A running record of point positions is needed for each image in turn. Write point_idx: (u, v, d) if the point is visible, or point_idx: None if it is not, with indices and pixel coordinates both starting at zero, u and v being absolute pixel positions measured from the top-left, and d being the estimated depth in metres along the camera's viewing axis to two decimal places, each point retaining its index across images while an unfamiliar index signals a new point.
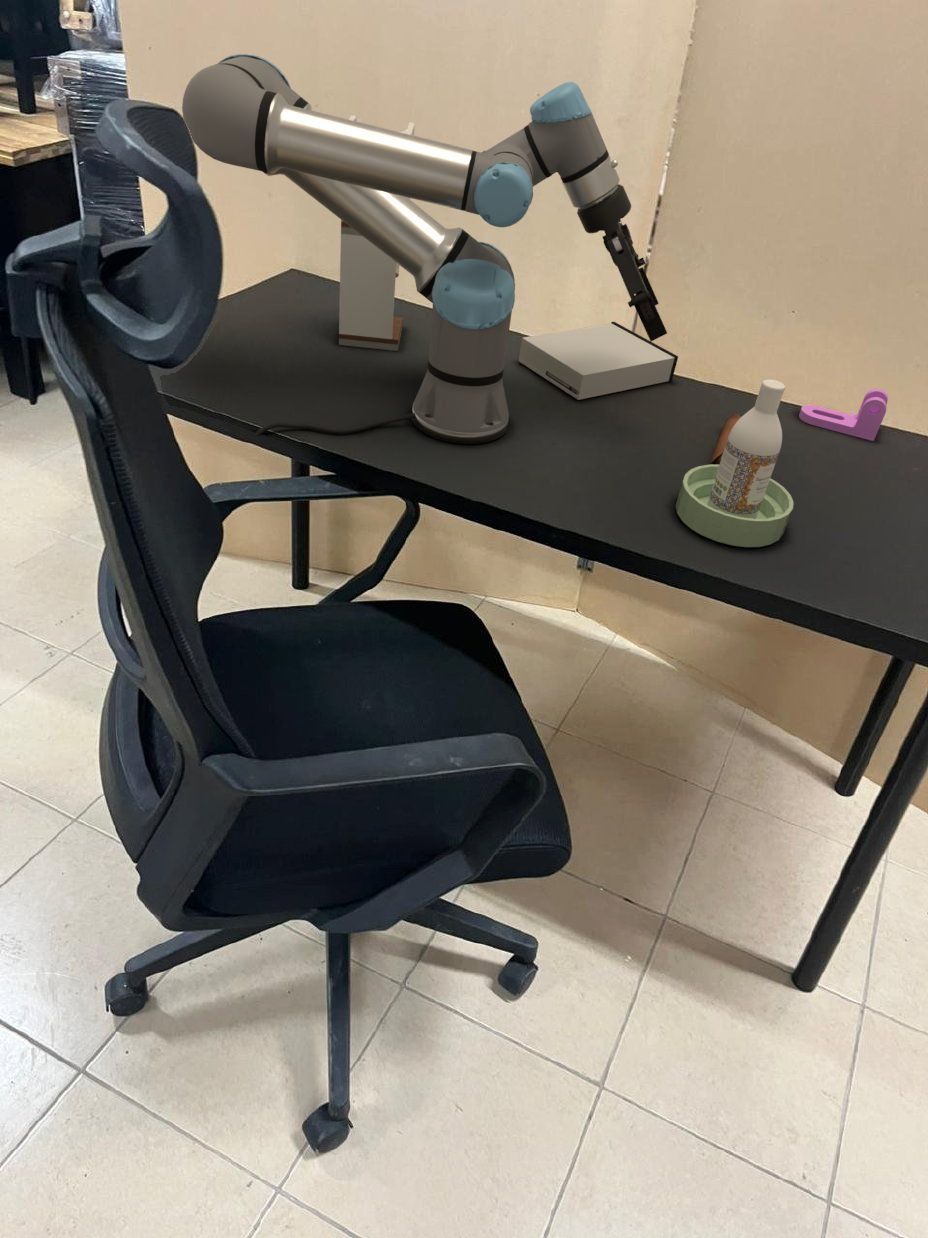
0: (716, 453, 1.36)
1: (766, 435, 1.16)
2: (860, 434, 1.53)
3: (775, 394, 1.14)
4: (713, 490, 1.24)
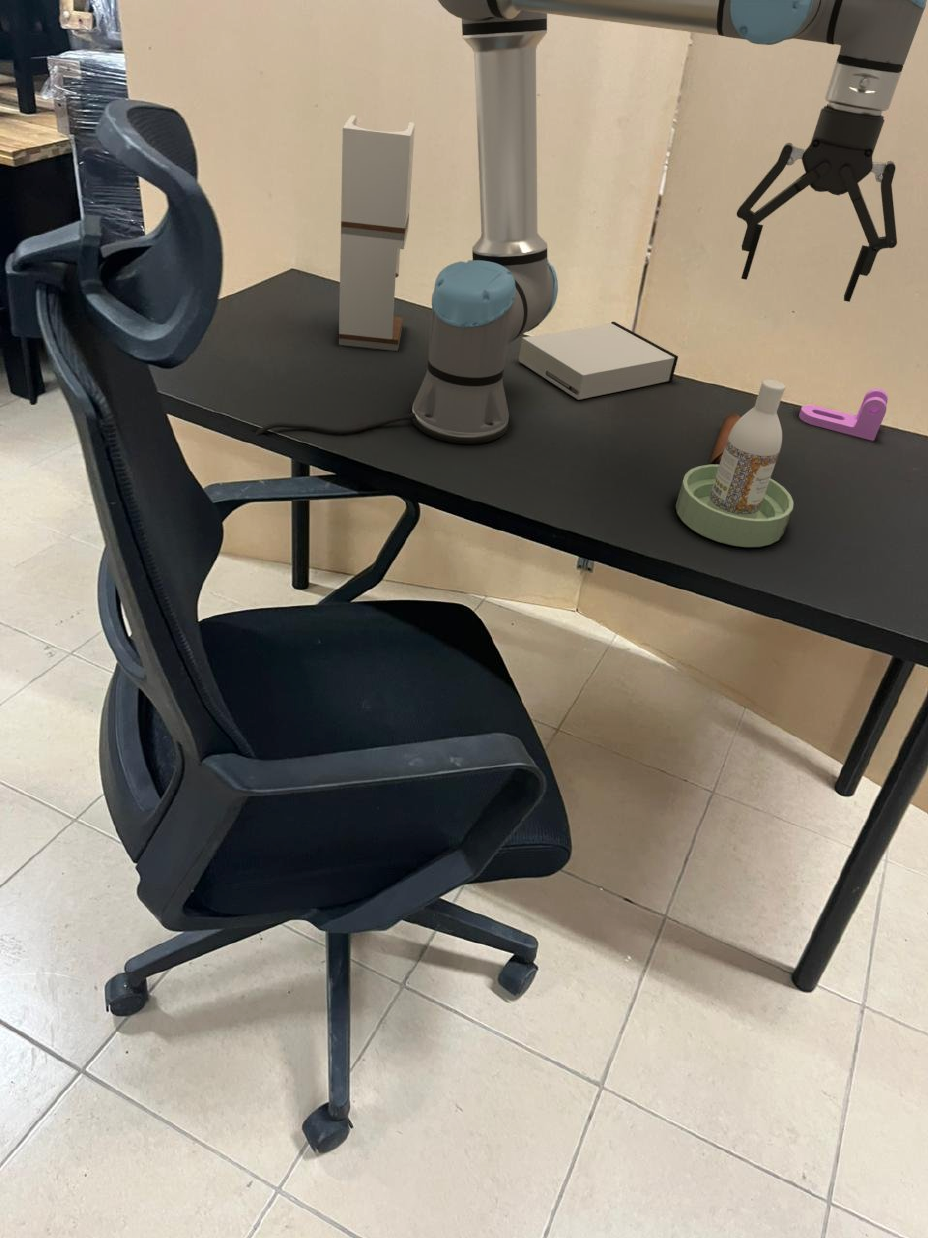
0: (715, 453, 1.36)
1: (766, 435, 1.16)
2: (860, 434, 1.53)
3: (775, 394, 1.14)
4: (713, 490, 1.24)
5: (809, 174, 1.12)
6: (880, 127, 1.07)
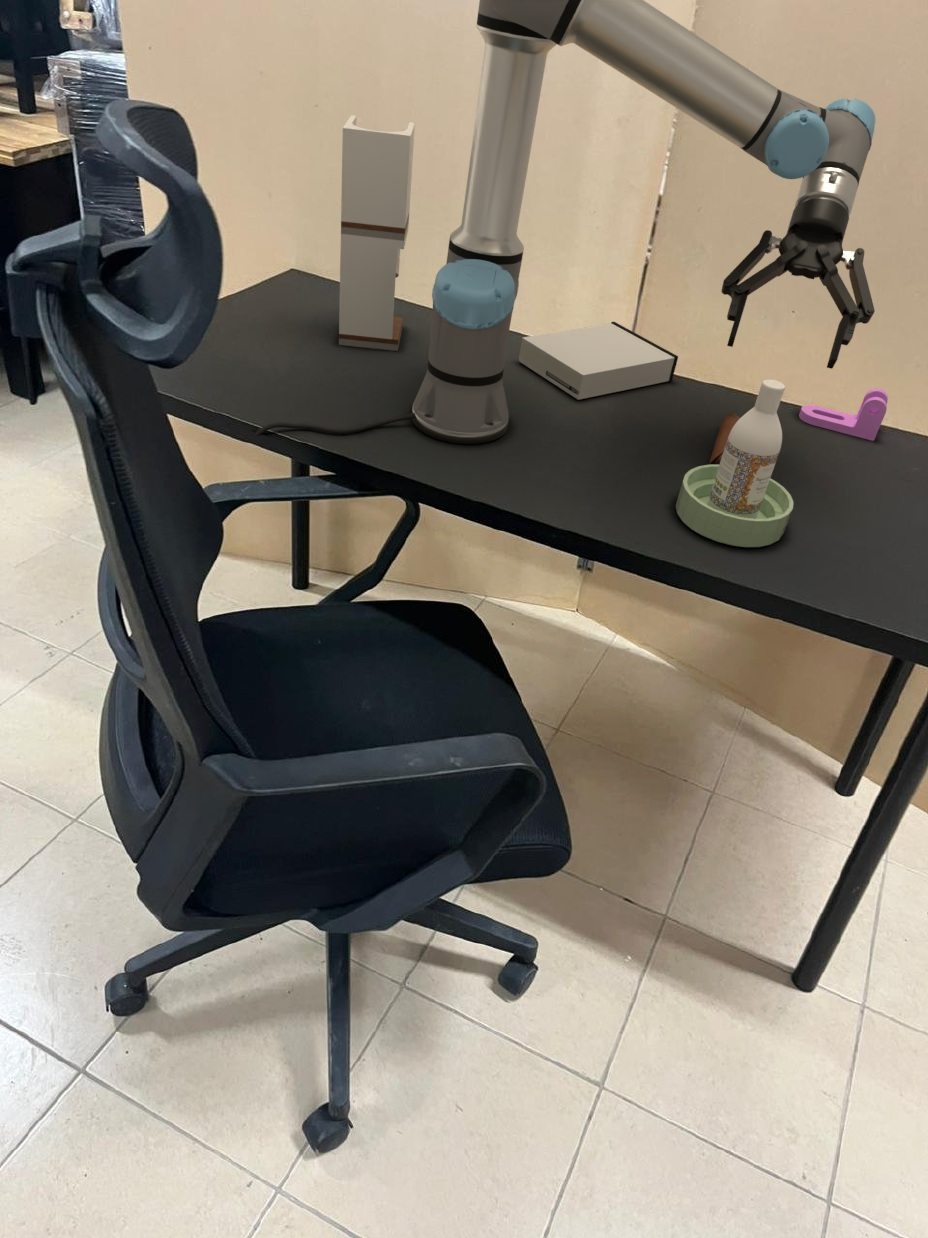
0: (715, 453, 1.36)
1: (766, 435, 1.16)
2: (861, 434, 1.53)
3: (775, 394, 1.14)
4: (713, 490, 1.24)
5: (789, 250, 1.23)
6: (847, 220, 1.22)
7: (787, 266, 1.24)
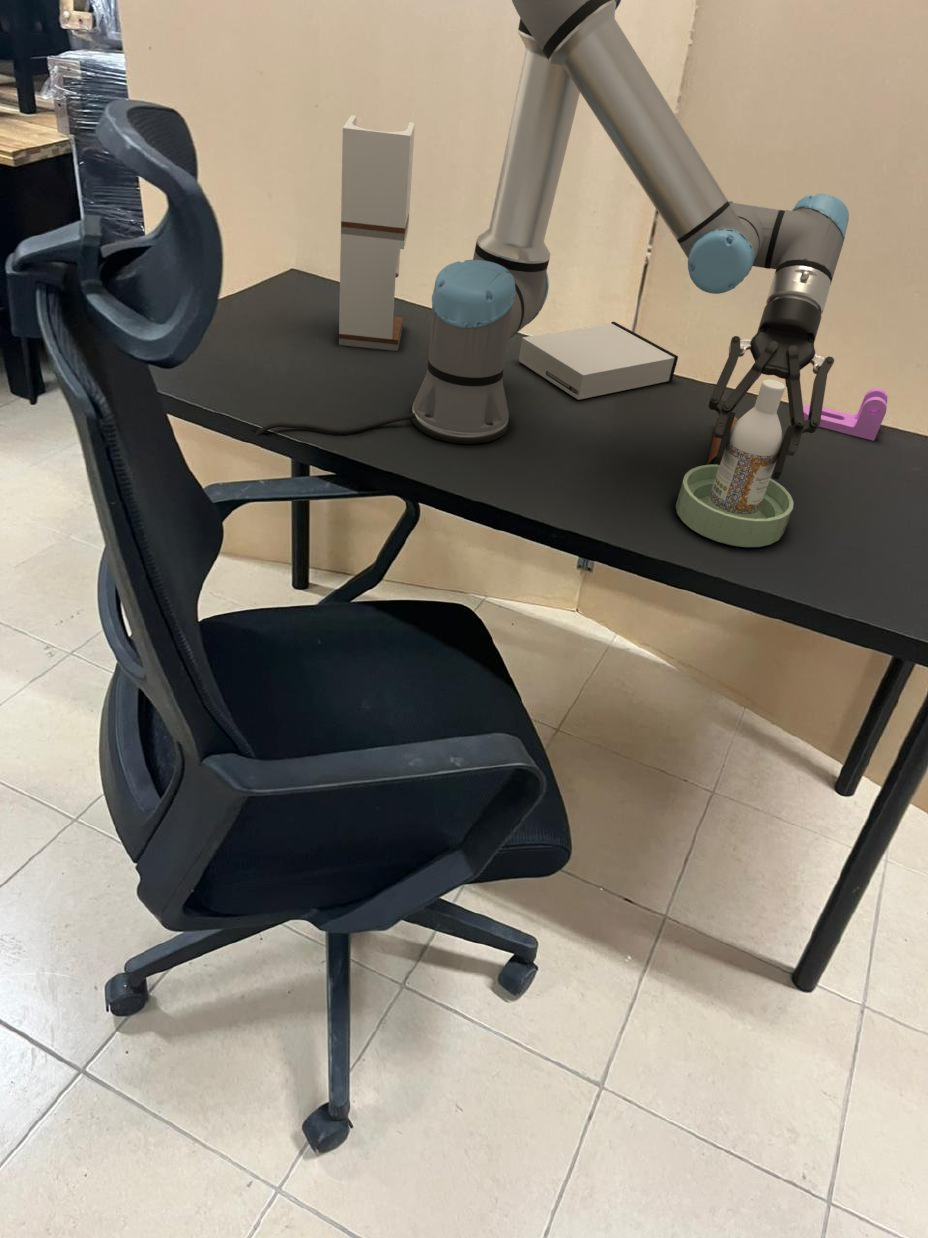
0: (713, 453, 1.36)
1: (766, 435, 1.16)
2: (861, 434, 1.53)
3: (775, 394, 1.14)
4: (713, 490, 1.24)
5: (762, 354, 1.19)
6: (819, 320, 1.19)
7: None
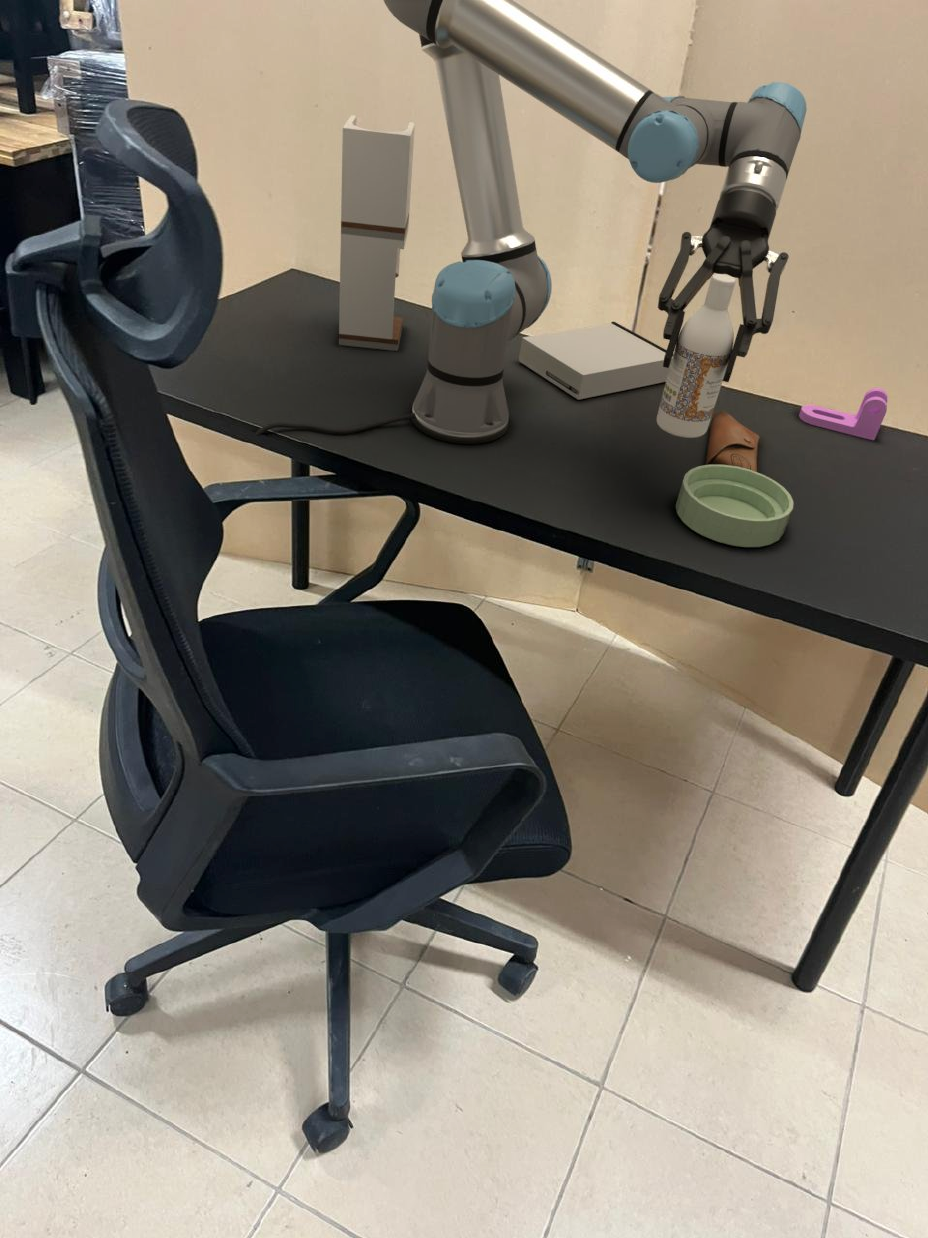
0: (711, 452, 1.36)
1: (716, 333, 1.10)
2: (861, 434, 1.53)
3: (725, 288, 1.08)
4: (663, 397, 1.18)
5: (713, 250, 1.13)
6: (773, 214, 1.13)
7: None
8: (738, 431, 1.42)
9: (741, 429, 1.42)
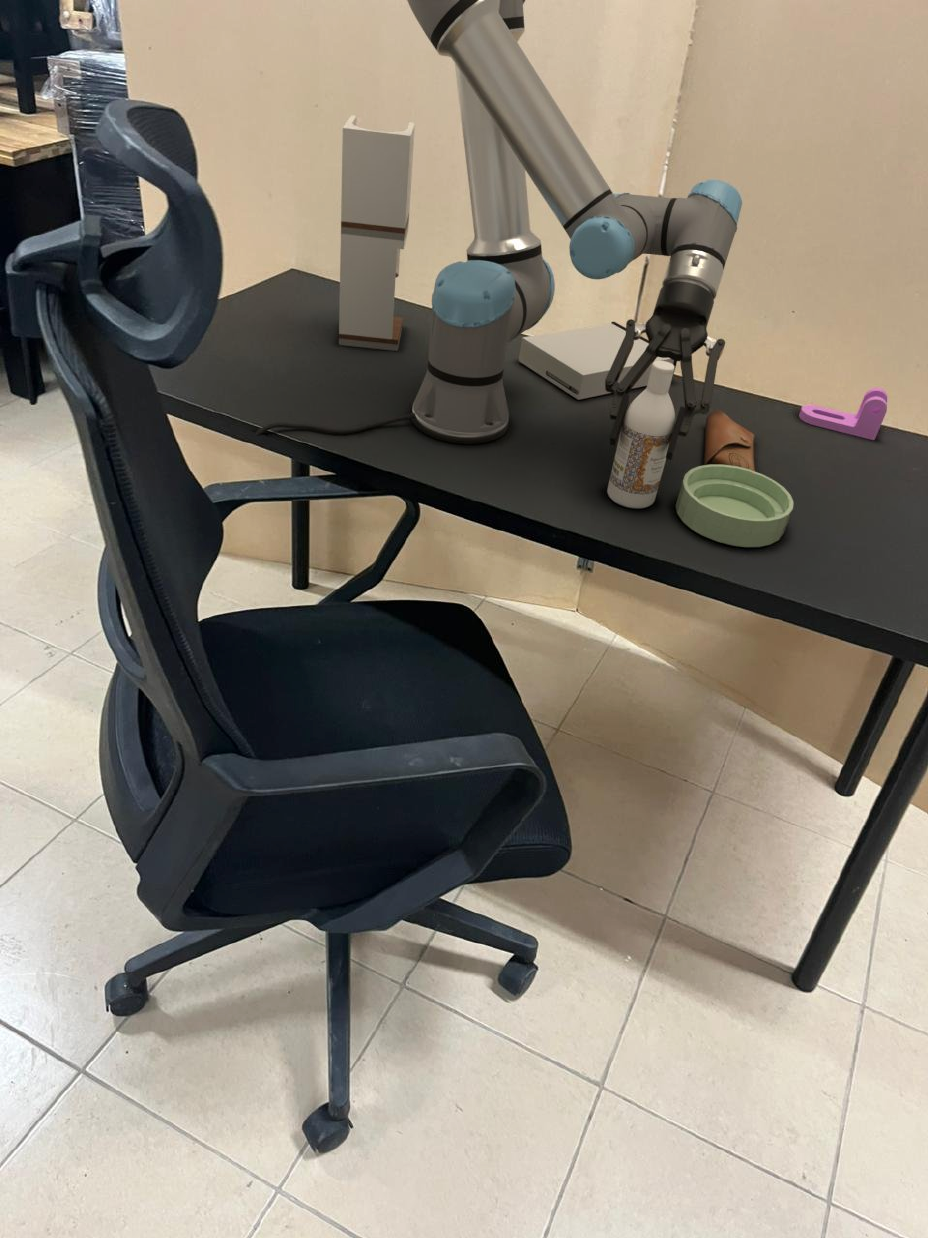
0: (709, 452, 1.36)
1: (657, 415, 1.18)
2: (861, 434, 1.54)
3: (664, 375, 1.16)
4: (612, 470, 1.26)
5: (655, 337, 1.21)
6: (711, 303, 1.21)
7: None
8: (734, 430, 1.42)
9: (737, 428, 1.43)
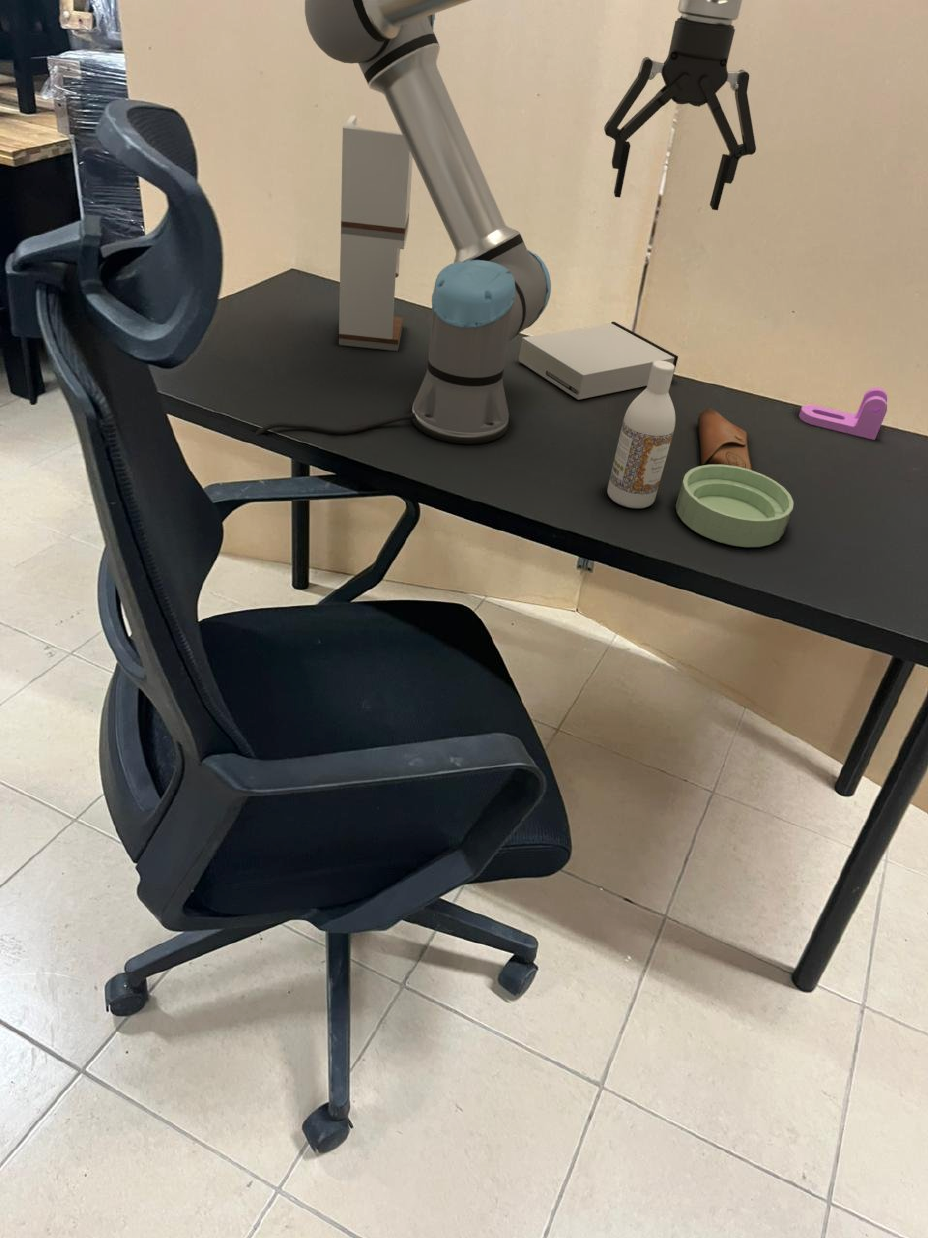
0: (707, 452, 1.36)
1: (657, 415, 1.18)
2: (861, 434, 1.54)
3: (664, 375, 1.16)
4: (612, 470, 1.26)
5: (671, 87, 1.15)
6: (732, 36, 1.12)
7: None
8: (728, 429, 1.42)
9: (731, 426, 1.43)
